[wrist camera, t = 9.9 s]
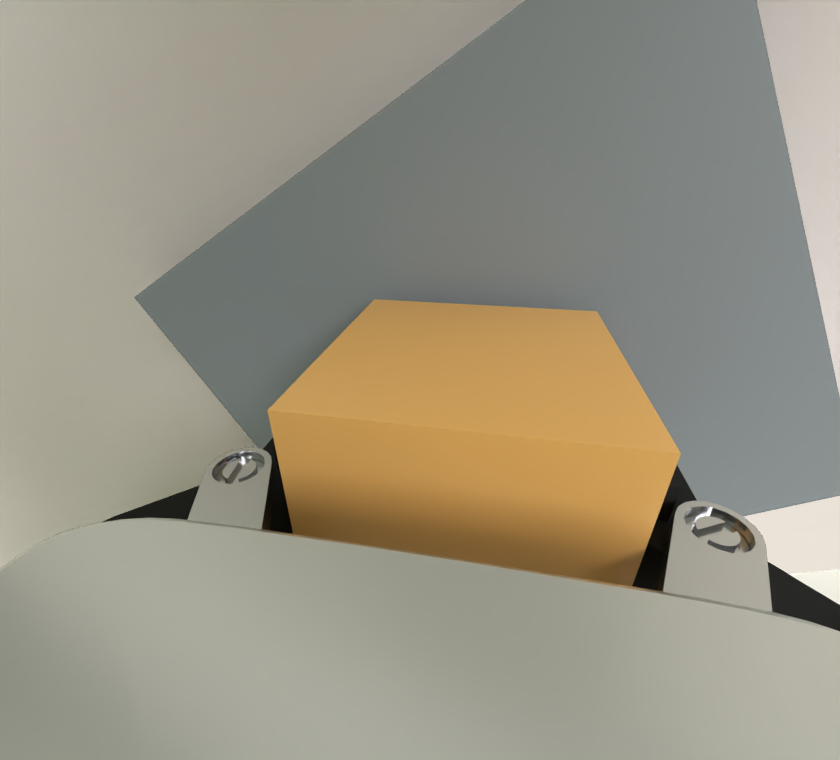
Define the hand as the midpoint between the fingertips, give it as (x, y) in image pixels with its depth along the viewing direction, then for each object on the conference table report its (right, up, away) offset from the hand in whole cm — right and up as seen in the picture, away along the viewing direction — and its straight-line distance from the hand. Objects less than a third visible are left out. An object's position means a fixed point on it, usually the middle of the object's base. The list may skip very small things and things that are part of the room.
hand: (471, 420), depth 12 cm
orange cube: (0, 0, +1) cm, 1 cm away
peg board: (+1, +2, +3) cm, 4 cm away
